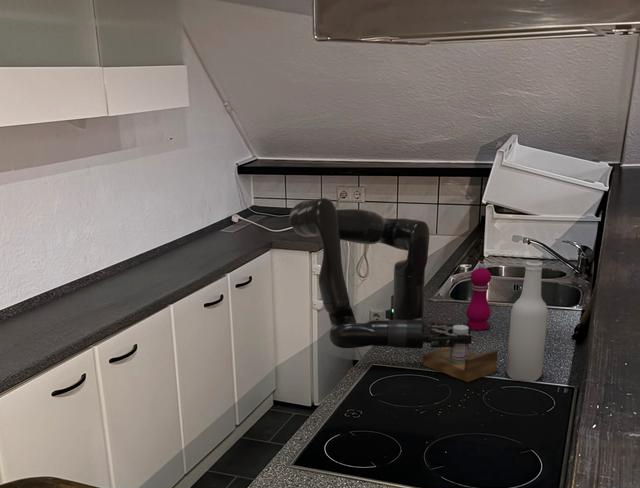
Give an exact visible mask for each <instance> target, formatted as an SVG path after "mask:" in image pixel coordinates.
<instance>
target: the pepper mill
mask: <svg viewBox="0 0 640 488" xmlns="http://www.w3.org/2000/svg"><path fill="white" fill-rule="evenodd" d="M491 280H492V273H491V272H490V271H489V270H488V269H487V268H485V264H484V263H479V265H478V268H476V269H473V271H472V272H471V273H470V281H471V282H472V284H471V290H472V298H471V300H470V303H469V304H468V306H467V308H466V313H465V316H466V317H467V322H466V326H468V328H470V330H471V331H472V330H474V331H485V330H487V329H488V328H489V321H488V320H489V319H490V317H491V307H490V305H489V302H488V298H487V294H488V290H490V288H489V287H490V285H489V283H490V282H491Z"/></svg>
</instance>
